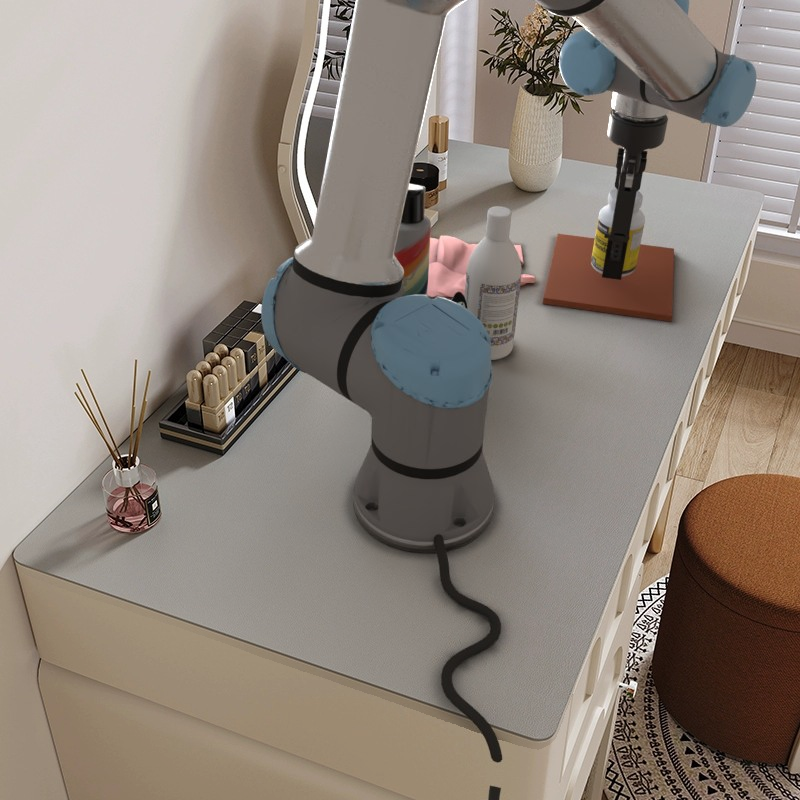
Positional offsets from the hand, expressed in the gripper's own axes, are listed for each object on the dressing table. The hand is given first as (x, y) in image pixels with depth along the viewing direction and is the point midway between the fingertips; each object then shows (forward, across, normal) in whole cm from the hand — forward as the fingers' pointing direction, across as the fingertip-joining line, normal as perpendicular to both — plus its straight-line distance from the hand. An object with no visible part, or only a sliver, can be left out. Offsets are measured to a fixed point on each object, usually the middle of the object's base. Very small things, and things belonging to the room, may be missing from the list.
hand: (613, 264), depth 149 cm
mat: (+3, +2, 0) cm, 4 cm away
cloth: (+3, -1, +21) cm, 21 cm away
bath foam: (+3, -21, +15) cm, 26 cm away
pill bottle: (+1, 0, 0) cm, 1 cm away
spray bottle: (+3, -17, +27) cm, 32 cm away
